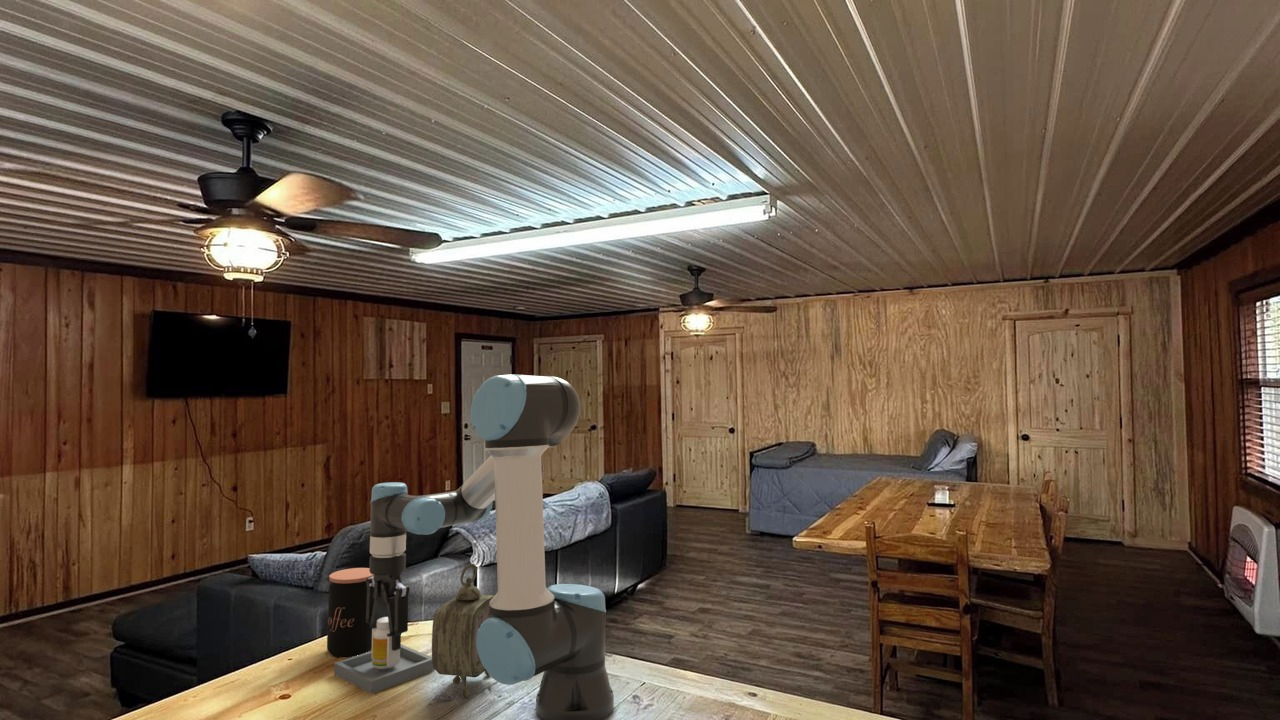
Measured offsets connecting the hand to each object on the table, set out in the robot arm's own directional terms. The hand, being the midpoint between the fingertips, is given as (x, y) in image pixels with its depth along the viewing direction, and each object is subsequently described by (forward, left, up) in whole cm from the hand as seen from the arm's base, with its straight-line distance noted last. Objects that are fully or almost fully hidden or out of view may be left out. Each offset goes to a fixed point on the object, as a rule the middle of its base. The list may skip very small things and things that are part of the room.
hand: (385, 660), depth 144 cm
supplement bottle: (0, 0, -1) cm, 1 cm away
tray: (0, 0, -2) cm, 3 cm away
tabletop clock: (-19, -7, -3) cm, 20 cm away
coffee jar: (+18, -2, -3) cm, 18 cm away
